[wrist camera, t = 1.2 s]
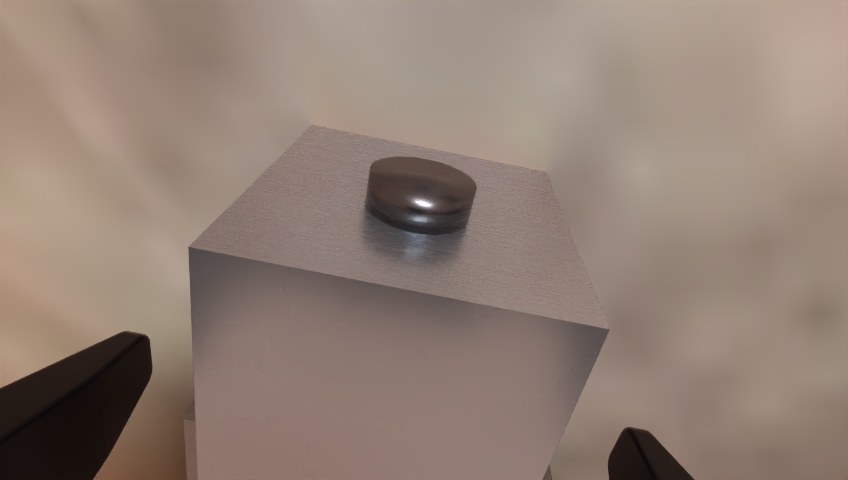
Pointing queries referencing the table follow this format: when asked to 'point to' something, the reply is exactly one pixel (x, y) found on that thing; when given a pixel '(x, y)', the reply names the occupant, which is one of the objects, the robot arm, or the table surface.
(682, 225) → the table surface
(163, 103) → the table surface
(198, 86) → the table surface
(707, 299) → the table surface
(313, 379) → the metal box with button
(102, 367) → the robot arm
